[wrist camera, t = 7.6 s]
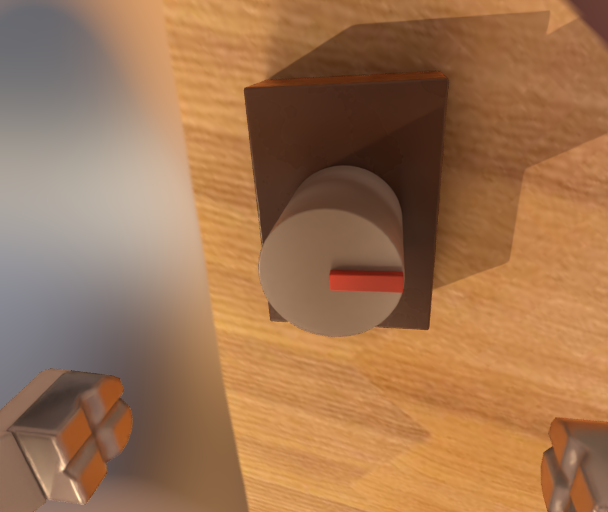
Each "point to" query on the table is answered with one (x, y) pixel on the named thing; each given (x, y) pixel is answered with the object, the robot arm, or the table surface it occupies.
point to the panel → (357, 156)
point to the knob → (336, 254)
